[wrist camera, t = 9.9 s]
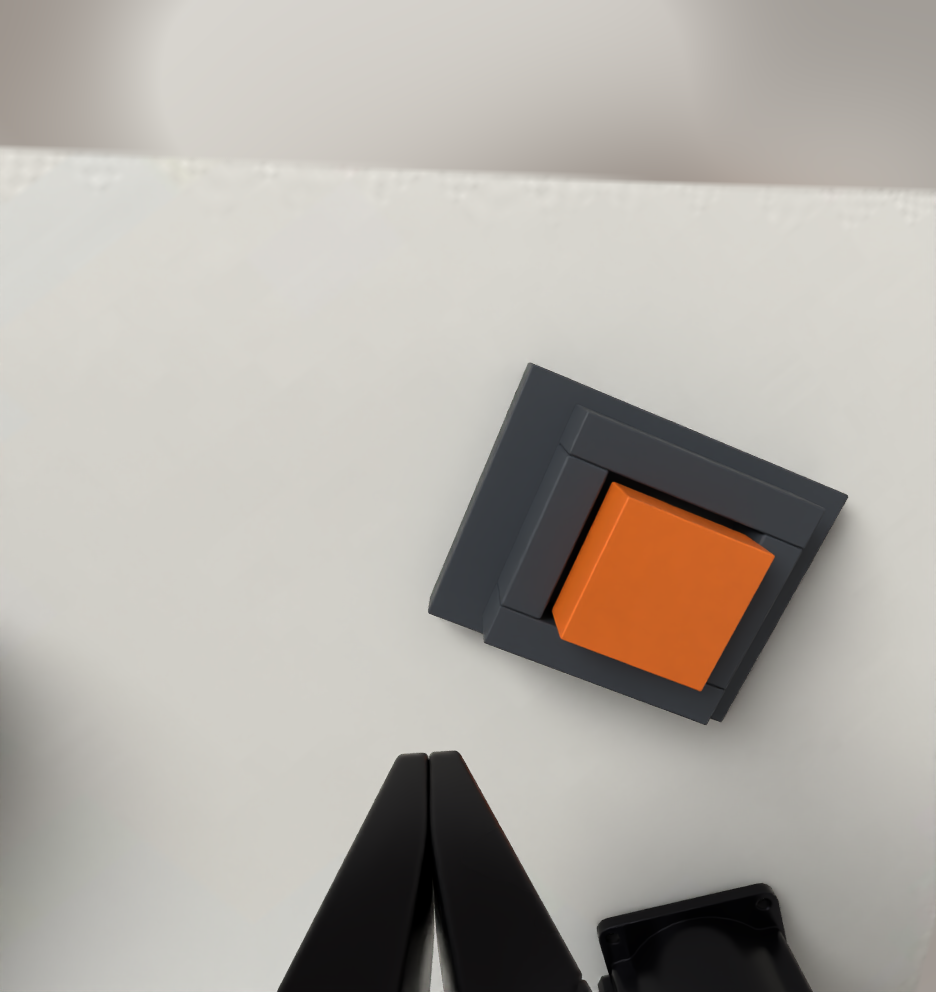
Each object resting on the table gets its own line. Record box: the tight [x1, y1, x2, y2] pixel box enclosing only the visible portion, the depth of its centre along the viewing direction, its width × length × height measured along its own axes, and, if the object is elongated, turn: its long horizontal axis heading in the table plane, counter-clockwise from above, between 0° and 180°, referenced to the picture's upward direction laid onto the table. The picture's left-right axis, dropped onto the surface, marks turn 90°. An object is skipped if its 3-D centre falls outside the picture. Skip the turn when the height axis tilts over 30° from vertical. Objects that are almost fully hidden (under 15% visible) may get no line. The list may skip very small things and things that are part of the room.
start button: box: [552, 482, 775, 691], centre depth 17 cm, size 4×4×2 cm
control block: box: [428, 363, 848, 725], centre depth 19 cm, size 10×8×3 cm
